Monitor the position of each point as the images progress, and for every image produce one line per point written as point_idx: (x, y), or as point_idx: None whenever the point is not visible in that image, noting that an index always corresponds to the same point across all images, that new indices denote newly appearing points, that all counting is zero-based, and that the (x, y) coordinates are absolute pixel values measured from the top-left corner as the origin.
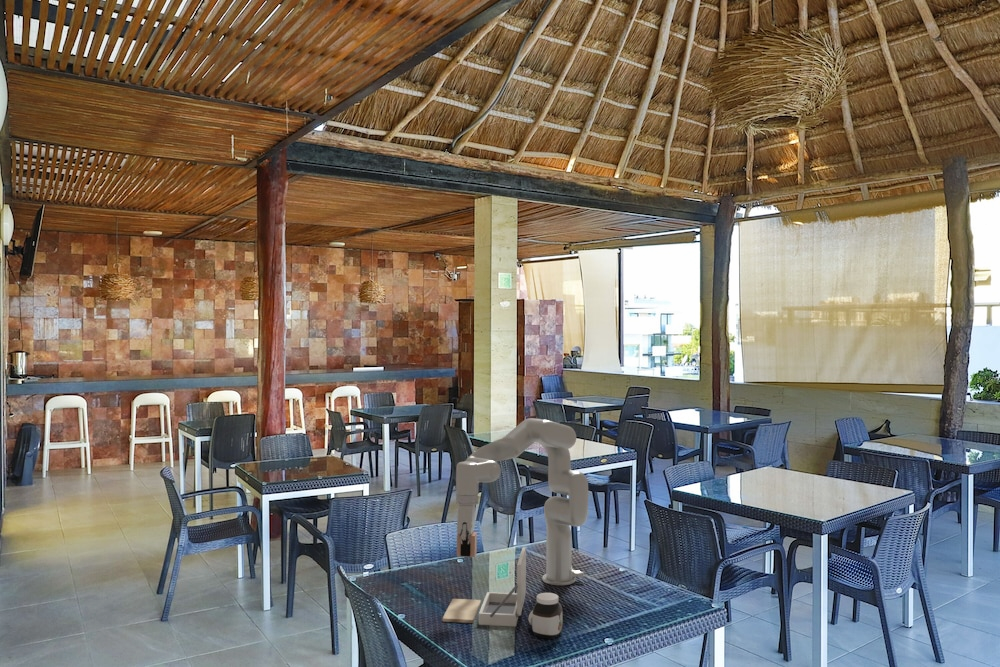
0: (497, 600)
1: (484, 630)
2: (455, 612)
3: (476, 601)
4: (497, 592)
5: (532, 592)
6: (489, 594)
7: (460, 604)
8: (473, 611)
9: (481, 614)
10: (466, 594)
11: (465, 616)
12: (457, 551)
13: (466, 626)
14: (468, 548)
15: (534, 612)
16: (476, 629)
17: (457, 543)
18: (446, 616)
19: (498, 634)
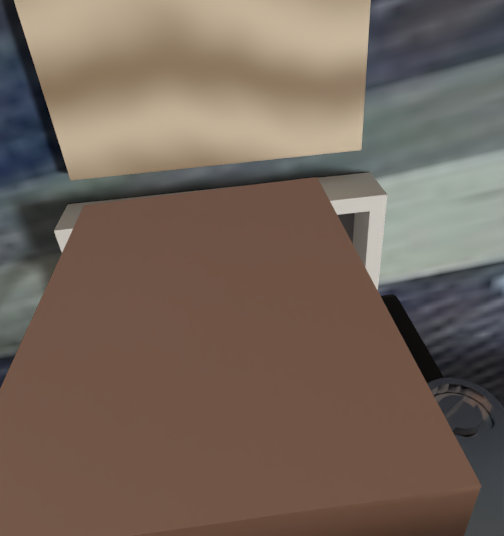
0: (356, 230)
1: (15, 243)
2: (138, 52)
3: (335, 131)
4: (381, 245)
5: (491, 321)
6: (362, 209)
7: (276, 46)
8: (184, 153)
9: (58, 241)
10: (495, 21)
11: (100, 129)
12: (71, 256)
13: (18, 153)
14: None
15: None
16: (7, 208)
17: (22, 361)
18: (52, 9)
19: (4, 302)
